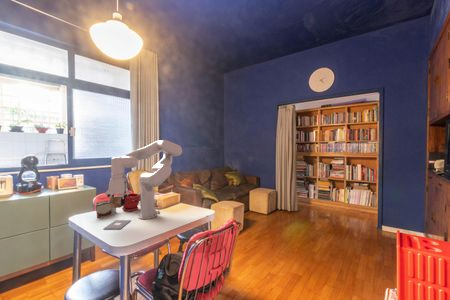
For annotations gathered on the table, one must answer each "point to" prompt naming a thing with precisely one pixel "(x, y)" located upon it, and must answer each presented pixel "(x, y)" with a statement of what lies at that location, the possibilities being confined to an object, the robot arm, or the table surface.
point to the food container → (103, 209)
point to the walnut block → (115, 202)
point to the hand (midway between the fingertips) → (117, 204)
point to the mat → (117, 224)
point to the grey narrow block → (113, 210)
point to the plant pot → (131, 202)
